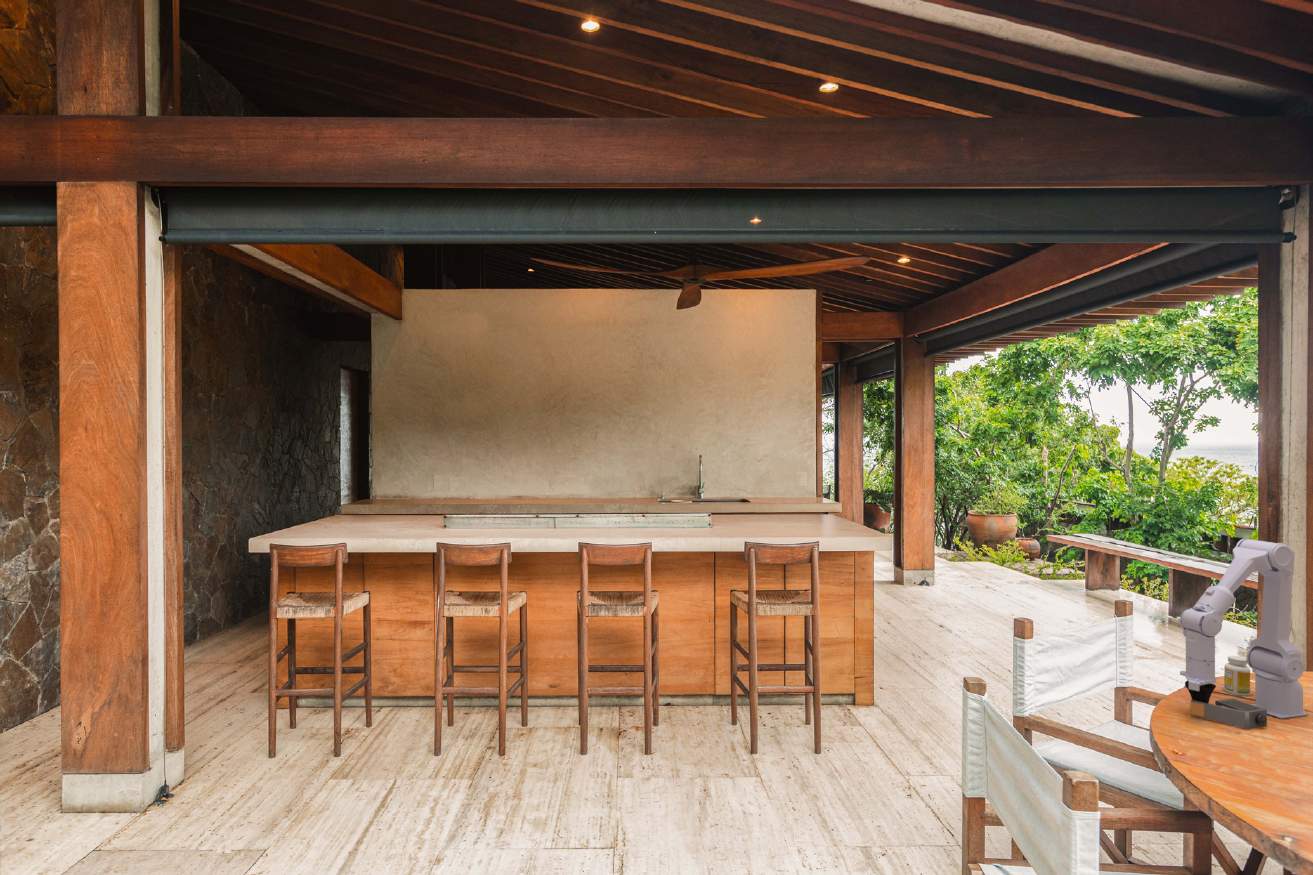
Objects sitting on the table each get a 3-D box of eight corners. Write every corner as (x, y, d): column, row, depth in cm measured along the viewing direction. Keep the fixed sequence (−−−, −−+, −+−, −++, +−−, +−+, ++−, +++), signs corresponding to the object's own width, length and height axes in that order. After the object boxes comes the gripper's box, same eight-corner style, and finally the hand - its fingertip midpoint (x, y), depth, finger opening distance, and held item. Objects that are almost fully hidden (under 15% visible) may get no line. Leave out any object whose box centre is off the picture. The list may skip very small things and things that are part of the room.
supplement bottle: (1222, 691, 183) (1222, 657, 183) (1226, 687, 186) (1226, 653, 186) (1248, 697, 179) (1248, 662, 179) (1252, 693, 182) (1252, 658, 182)
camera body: (1232, 713, 168) (1233, 697, 168) (1270, 727, 160) (1270, 710, 160) (1215, 716, 166) (1215, 700, 166) (1252, 730, 158) (1252, 713, 158)
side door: (1191, 714, 167) (1191, 699, 167) (1249, 728, 159) (1249, 712, 159) (1190, 715, 166) (1190, 700, 166) (1248, 729, 158) (1248, 713, 158)
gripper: (1186, 648, 174) (1187, 699, 174) (1173, 660, 165) (1173, 714, 165) (1221, 654, 169) (1222, 707, 169) (1209, 667, 159) (1209, 723, 159)
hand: (1200, 711), depth 166 cm, fingers closed
